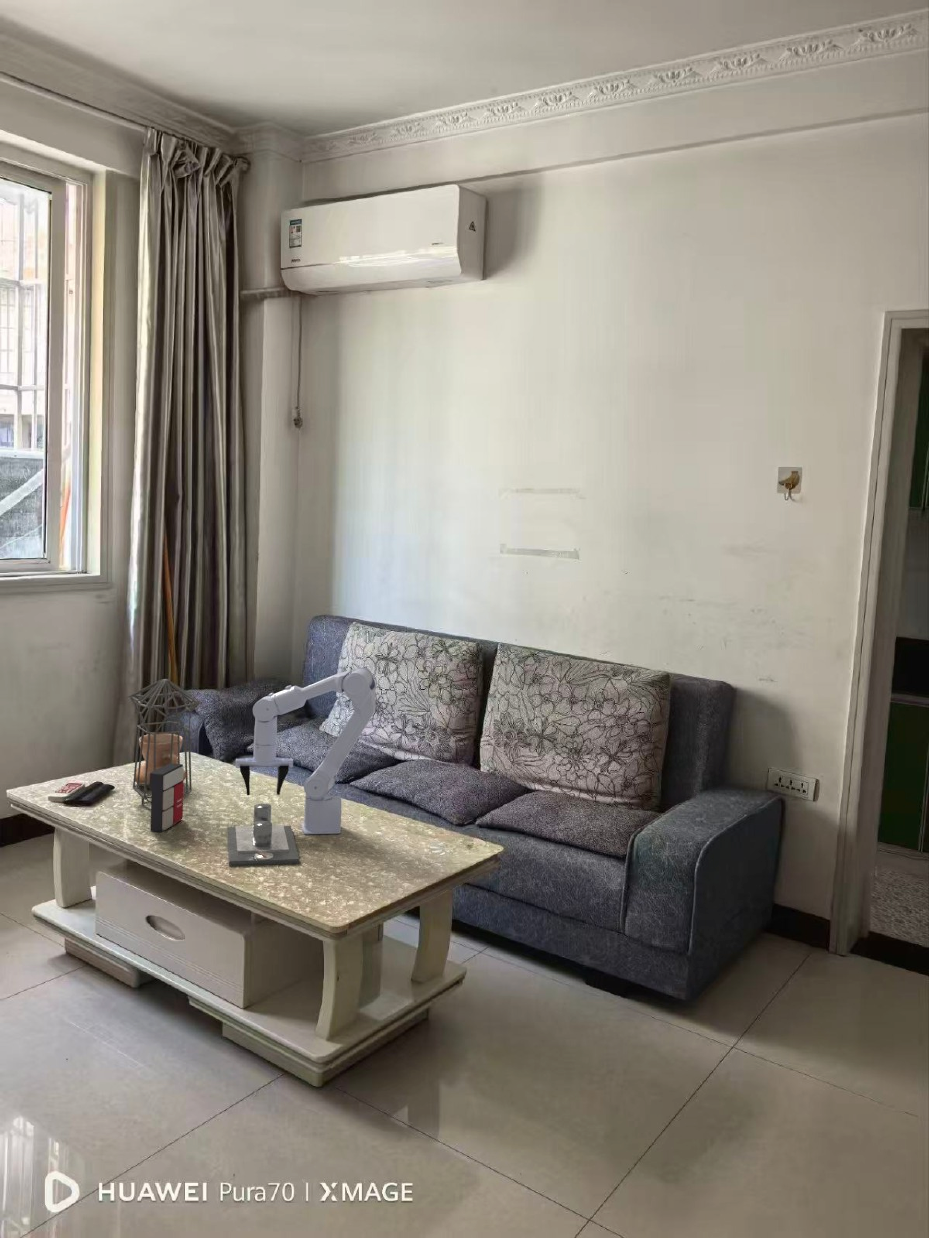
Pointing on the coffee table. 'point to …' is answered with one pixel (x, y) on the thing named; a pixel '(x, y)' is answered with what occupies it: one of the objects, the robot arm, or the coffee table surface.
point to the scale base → (261, 857)
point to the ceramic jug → (158, 754)
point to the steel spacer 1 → (262, 812)
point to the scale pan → (246, 846)
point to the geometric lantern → (159, 685)
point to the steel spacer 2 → (262, 833)
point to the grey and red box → (166, 796)
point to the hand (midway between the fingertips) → (263, 793)
